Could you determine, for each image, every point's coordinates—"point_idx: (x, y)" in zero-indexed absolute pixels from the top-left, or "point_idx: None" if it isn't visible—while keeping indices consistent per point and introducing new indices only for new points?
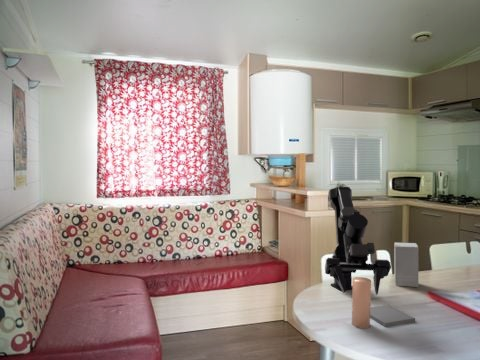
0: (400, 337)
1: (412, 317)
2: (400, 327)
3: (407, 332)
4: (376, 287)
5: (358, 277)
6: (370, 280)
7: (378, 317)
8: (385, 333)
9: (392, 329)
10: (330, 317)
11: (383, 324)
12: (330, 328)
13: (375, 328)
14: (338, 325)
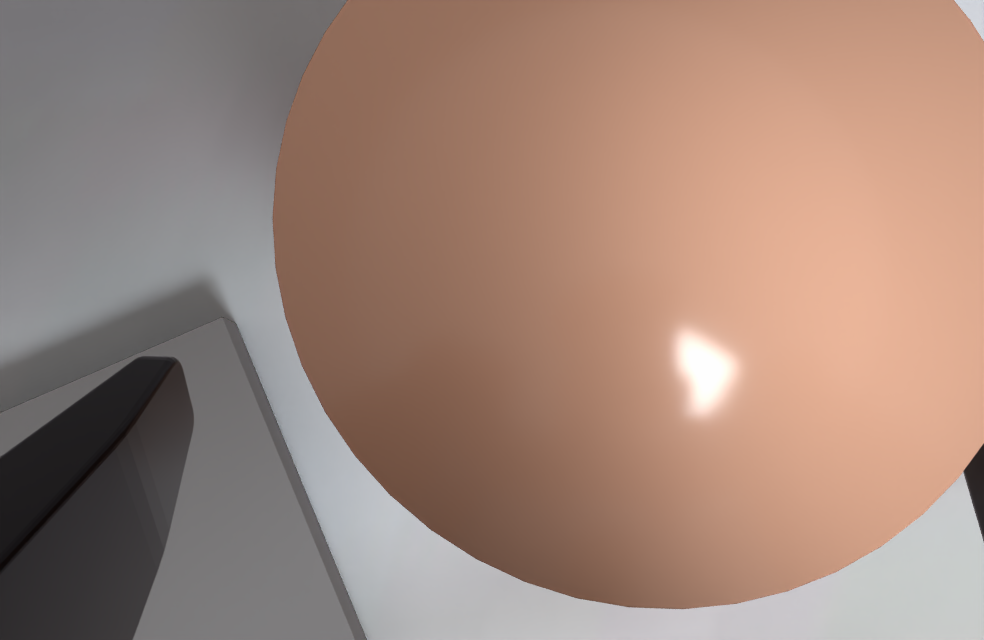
0: (149, 51)
1: None
2: (36, 322)
3: (8, 187)
4: (107, 432)
5: (736, 565)
6: (294, 171)
7: (248, 507)
8: None
9: (164, 254)
10: (906, 556)
11: (239, 345)
12: None
13: None
14: None
